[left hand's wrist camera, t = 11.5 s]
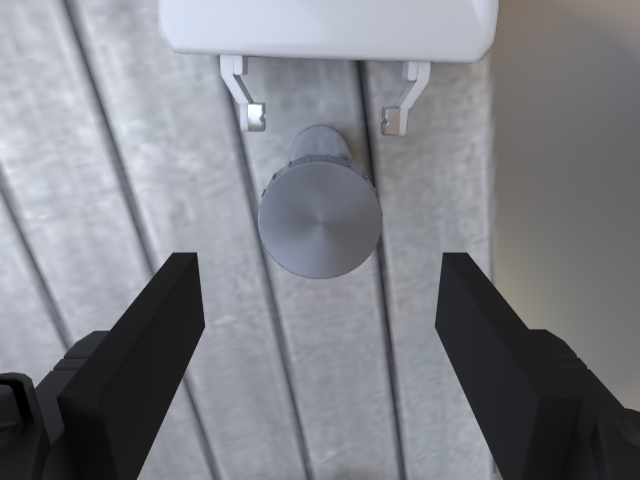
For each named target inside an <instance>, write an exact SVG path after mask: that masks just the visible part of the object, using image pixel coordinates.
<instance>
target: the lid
mask: <svg viewBox="0 0 640 480" xmlns="http://www.w3.org/2000/svg"><path fill="white" fill-rule="evenodd" d="M377 196H378V193H377V191H376V189H375V188H373V187H372V185H371V183H370V181H369V180H368V178H367V176H366V174H365V172H362V171H361V170H360V169H359V168H357V167H356V166H355V165H353V164H352V163H350V160H347V161H346V160H344V159H342V158H339V157H335V156H331V155H330V154H328V155H324V154H318V155H310V154H308V156H305V157H301V158H298V159H296V160H294V161H292V162H291V160H290V161H289V162H288V164H287V165H285V166H284V167H283V168H282V169H280V170H279V171H278V172H277V173H274V175H273V177H272V179H271V181H270V183H269V185H268V187H267V189H266V190H265V189H264V192H263V194H262V196H261V198H262V201H261V203H260V207H259V212H258V215H257V217H258V228H259V233H260V237H261V240H262V242H263V244H264V246H265V248H266V250H267V251H268V253H269V254H270V256H271V257H272V258H273V259H274V260H275V261H276V262H277V263H278V264H279V265H281V266H282V267H283V268H285V269H286V270H288V271H290V272H292V273H294V274H296V275H299V276H302V277H306V278H312V279H328V278H334V277H338V276H341V275H344V274H346V273H348V272H350V271H352V270H354V269H355V268H357V267H358V266H360V265H361V264H362V263H363V262H364V261H365V260H366V259H367V258H368V257H369V256H370V254H371V253H372V251H373V250H374V248H375V247H376V244H377V242H378V240H379V237H380V234H381V228H382V215H383V213H382V211H381V207H380V203H379V201H378V198H377Z"/></svg>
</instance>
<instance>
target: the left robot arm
mask: <svg viewBox="0 0 640 480" xmlns="http://www.w3.org/2000/svg"><path fill="white" fill-rule="evenodd" d="M204 328H205V321H204V312H203V303H202V294H201V285H200V276H199V267H198V258H197V253H172V254H171V256H170V257H169V258H168V259H167V261H166V262H165V263H164V264H163V266H162V267H161V268H160V269H159V271H158V272H157V273H156V274H155V276H154V277H153V278H152V279H151V280H150V282H149V283H148V284H147V285H146V287H145V288H144V289H143V290H142V292H141V293H140V294H139V295H138V297H137V298H136V299H135V300H134V302H133V303H132V304H131V305H130V307H129V308H128V309H127V310H126V312H125V313H124V314H123V315H122V317H121V318H120V319H119V320H118V321H117V323H116V324H115V325H114V326H113V328H112V329H111V330H110V331H94V332H92V333H90V334H89V335H87V336H86V337H84V338H83V339H81V340H79V341H78V342H76V343H75V344H74V345H73V347H72V348H71V349H70V350H69V351H68V352H67V353H66V354H65V355H64V359H61V360H60V361H59V362H58V363H57V364H56V366H55V367H54V368H53V371H50V372H49V373H48V374H47V376H46V377H45V378H44V379H43V380H42V381H41V382H40V383H39V385H38V386H37V387H36V388H35V389H34V386H33V382H32V379H31V378H29V377H28V376H27V375H25V374H21V373H14V372H11V373H3V374H0V480H137V478H138V476H139V473H140V471H141V469H142V467H143V464H144V462H145V460H146V458H147V456H148V453H149V451H150V449H151V447H152V444H153V442H154V440H155V438H156V435H157V433H158V431H159V429H160V426H161V424H162V422H163V420H164V418H165V415H166V413H167V411H168V409H169V406H170V404H171V402H172V400H173V397H174V395H175V393H176V391H177V388H178V386H179V384H180V382H181V380H182V377H183V375H184V373H185V371H186V368H187V366H188V364H189V362H190V359H191V357H192V355H193V353H194V350H195V348H196V346H197V344H198V342H199V339H200V337H201V335H202V333H203V330H204ZM435 328H436V330H437V333H438V335H439V337H440V339H441V342H442V344H443V346H444V348H445V350H446V353H447V355H448V357H449V359H450V362H451V364H452V366H453V368H454V371H455V373H456V375H457V377H458V380H459V382H460V384H461V386H462V388H463V391H464V393H465V395H466V397H467V400H468V402H469V404H470V406H471V409H472V411H473V413H474V415H475V418H476V420H477V422H478V424H479V426H480V429H481V431H482V433H483V435H484V438H485V440H486V442H487V444H488V447H489V449H490V451H491V453H492V456H493V458H494V460H495V462H496V464H497V467H498V469H499V471H500V473H501V476H502V478H503V480H640V412H638V411H635V410H632V409H626V408H624V407H623V406H622V405H621V404H620V402H619V401H618V400H617V399H616V398H615V397H614V396H613V395H612V394H611V392H610V391H609V390H608V389H607V388H606V387H605V386H604V385H603V384H602V382H601V381H600V380H599V379H598V378H597V377H596V376H595V375H594V374H593V372H592V371H591V370H590V369H587V366H586V365H585V364H584V362H583V361H582V360H581V359H580V358H577V355H576V354H575V352H574V351H573V350H572V349H571V348H570V347H569V346H568V345H567V344H566V343H565V341H563V340H562V339H560V338H558V337H557V336H555V335H554V334H552V333H551V332H549V331H547V330H546V329H528V328H527V326H526V325H525V324H524V323H523V322H522V320H521V319H520V318H519V317H518V315H517V314H516V313H515V312H514V310H513V309H512V308H511V307H510V305H509V304H508V303H507V302H506V300H505V299H504V298H503V297H502V295H501V294H500V293H499V292H498V290H497V289H496V288H495V287H494V285H493V284H492V283H491V282H490V280H489V279H488V278H487V277H486V276H485V274H484V273H483V272H482V271H481V269H480V268H479V267H478V266H477V264H476V263H475V262H474V261H473V259H472V258H471V257H470V256H469V254H468V253H443V258H442V267H441V276H440V285H439V294H438V303H437V312H436V321H435Z"/></svg>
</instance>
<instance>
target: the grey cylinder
mask: <svg viewBox="0 0 640 480" xmlns="http://www.w3.org/2000/svg"><path fill="white" fill-rule="evenodd" d="M308 154H310V155H318V154H324V155H328V154H330V155H331V156H335V157H339V158H342V159H344V160H346V161H347V160H350V163H352V164H353V165H354V162H353V159H352V157H351V154H350V151H349V148H348V146H347V143H346V141H345V139H344V138H343V137H342V135H341V134H340V133H338V132H337V131H336V130H334V129H332V128H330V127H326V126H314V127H310V128H308V129H306V130H304V131H303V132H302V133H300V134H299V135H298V137H297V138H296V139H295V141H294V143H293V146H292V148H291V151H290V154H289V157H288V160H287V162H286V165H287V164H288V162H289V161H290V160H291V162H292V161H294V160H296V159H298V158H301V157H305V156H308Z"/></svg>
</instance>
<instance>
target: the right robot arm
mask: <svg viewBox="0 0 640 480" xmlns="http://www.w3.org/2000/svg"><path fill="white" fill-rule="evenodd" d="M499 4H500V0H157V12H158V29H159V34H160V36H161V38H162V40H163V41H164V42H165V44H166V45H167V46H168V47H169V48H170V49H171V51H173V52H174V53H178V54H187V55H217V56H220V66H221V76H222V78H223V79H224V81H225V83H226V84H227V86H228V88H229V89H230V91H231V93H232V94H233V96H234V98H235V100H236V101H237V103H239V104H240V124H241V131H247V132H264V130H265V128H266V119H265V118H264V114H265V113H266V108H265V103H258V102H254V101H253V100H252V98H251V96H250V94H249V92H248V90H247V89H246V87H245V85H244V83H243V81H242V79H241V78H240V76H239V75H247V74H248V57H280V58H311V59H342V60H373V61H403V72H402V79H403V80H409V81H410V82H409V84H408V85H407V87H406V89H405V90H404V92H403V93H402V95H401V96H400V98H399V100H398V101H397V103H396V104H395V107H383V110H382V117H383V119H384V120H383V122H382V123H381V133H382V134H383V135H387V136H405V135H406V131H407V121H408V111H409V109H411V108H412V106H413V105H414V103H415V102H416V100H417V99H418V97H419V96H420V94H421V93H422V91H423V90H424V89H425V87H426V86H427V84H428V83H429V79H430V70H431V62H436V63H476V62H479V61H480V60H481V59H482V58H483V57H484V56H485V55H486V53H487V52H488V51H489V50H490V49H491V47H492V45H493V43H494V40H495V35H496V29H497V22H498V14H499Z"/></svg>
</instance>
